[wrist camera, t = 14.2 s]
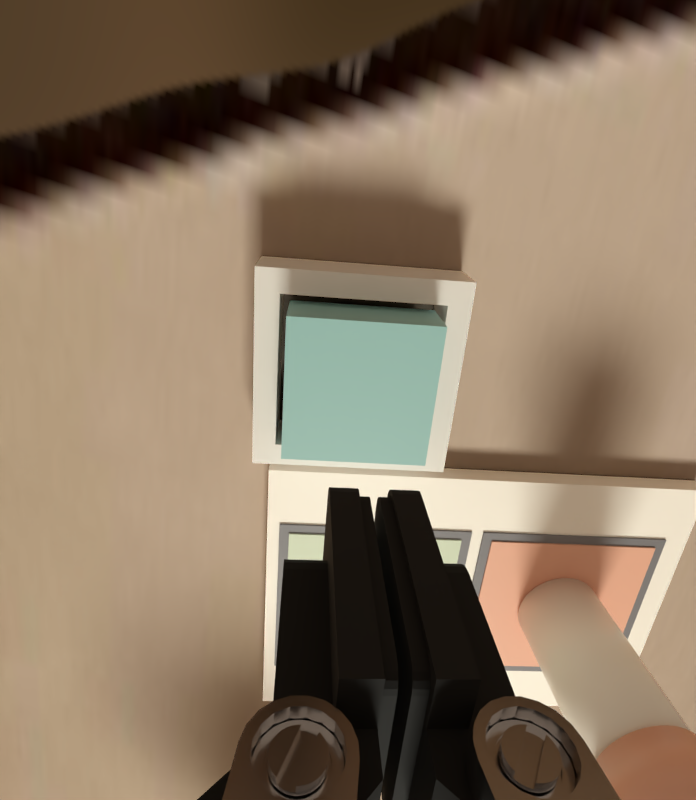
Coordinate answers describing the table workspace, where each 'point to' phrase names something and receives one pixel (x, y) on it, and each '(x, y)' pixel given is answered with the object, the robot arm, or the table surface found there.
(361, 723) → the robot arm
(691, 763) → the marker
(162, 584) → the table surface
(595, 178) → the table surface
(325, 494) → the colouring board
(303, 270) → the button collar
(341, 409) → the button
